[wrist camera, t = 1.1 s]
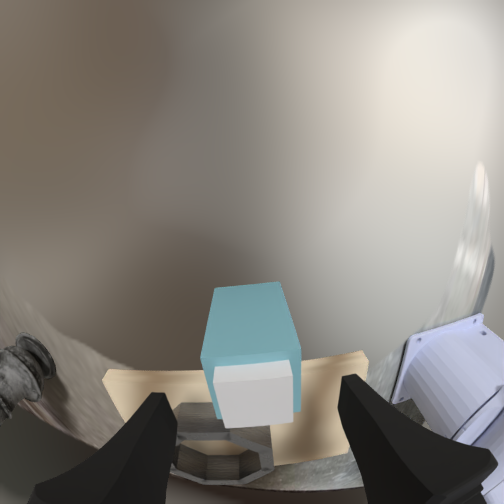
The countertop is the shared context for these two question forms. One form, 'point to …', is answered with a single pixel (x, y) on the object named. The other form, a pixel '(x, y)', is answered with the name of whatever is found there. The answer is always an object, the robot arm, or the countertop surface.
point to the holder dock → (286, 436)
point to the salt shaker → (23, 373)
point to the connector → (252, 356)
